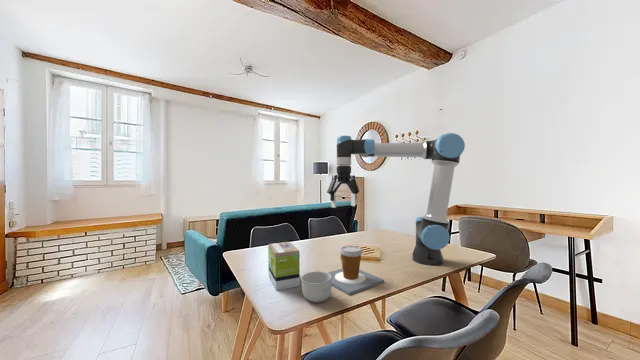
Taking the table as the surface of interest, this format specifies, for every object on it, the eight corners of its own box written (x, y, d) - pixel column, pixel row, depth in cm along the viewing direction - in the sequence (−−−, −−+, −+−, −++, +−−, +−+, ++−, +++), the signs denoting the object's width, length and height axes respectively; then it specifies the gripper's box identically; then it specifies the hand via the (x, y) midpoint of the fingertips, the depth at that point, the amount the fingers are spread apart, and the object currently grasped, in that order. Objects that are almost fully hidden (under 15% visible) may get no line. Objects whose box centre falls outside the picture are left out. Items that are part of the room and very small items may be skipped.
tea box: (267, 276, 107) (267, 243, 107) (289, 273, 110) (289, 241, 111) (275, 291, 93) (275, 252, 93) (300, 286, 97) (300, 249, 97)
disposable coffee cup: (363, 281, 99) (363, 252, 99) (340, 281, 99) (340, 251, 99) (360, 272, 108) (360, 245, 108) (339, 272, 109) (339, 245, 109)
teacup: (328, 307, 81) (328, 283, 81) (297, 304, 83) (297, 280, 83) (334, 289, 94) (334, 268, 94) (307, 287, 96) (307, 266, 96)
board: (351, 268, 117) (351, 265, 117) (384, 282, 101) (384, 279, 101) (317, 277, 106) (317, 274, 106) (348, 295, 90) (348, 291, 90)
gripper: (356, 167, 137) (356, 204, 137) (320, 165, 123) (320, 207, 122) (365, 166, 131) (365, 205, 131) (329, 164, 116) (329, 208, 116)
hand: (343, 206), depth 127 cm, fingers open, 13 cm apart
